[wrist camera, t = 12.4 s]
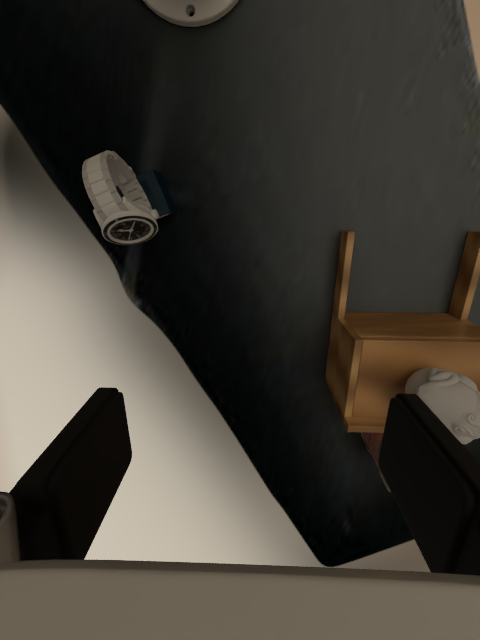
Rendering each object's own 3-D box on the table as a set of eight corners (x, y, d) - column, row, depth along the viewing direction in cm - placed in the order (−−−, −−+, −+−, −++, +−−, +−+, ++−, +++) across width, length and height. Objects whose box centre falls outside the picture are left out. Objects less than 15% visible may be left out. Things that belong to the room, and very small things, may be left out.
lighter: (387, 447, 45) (423, 508, 36) (364, 452, 46) (394, 514, 36) (378, 403, 43) (414, 457, 33) (354, 409, 43) (383, 464, 34)
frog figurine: (426, 417, 33) (469, 468, 26) (377, 385, 32) (410, 431, 25) (469, 376, 31) (528, 421, 24) (419, 341, 30) (466, 378, 23)
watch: (142, 244, 36) (99, 257, 26) (110, 175, 34) (48, 160, 24) (184, 227, 36) (157, 234, 25) (154, 155, 33) (111, 131, 23)
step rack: (341, 230, 35) (376, 237, 25) (475, 230, 35) (564, 238, 25) (324, 380, 42) (347, 432, 32) (436, 382, 41) (494, 435, 32)
